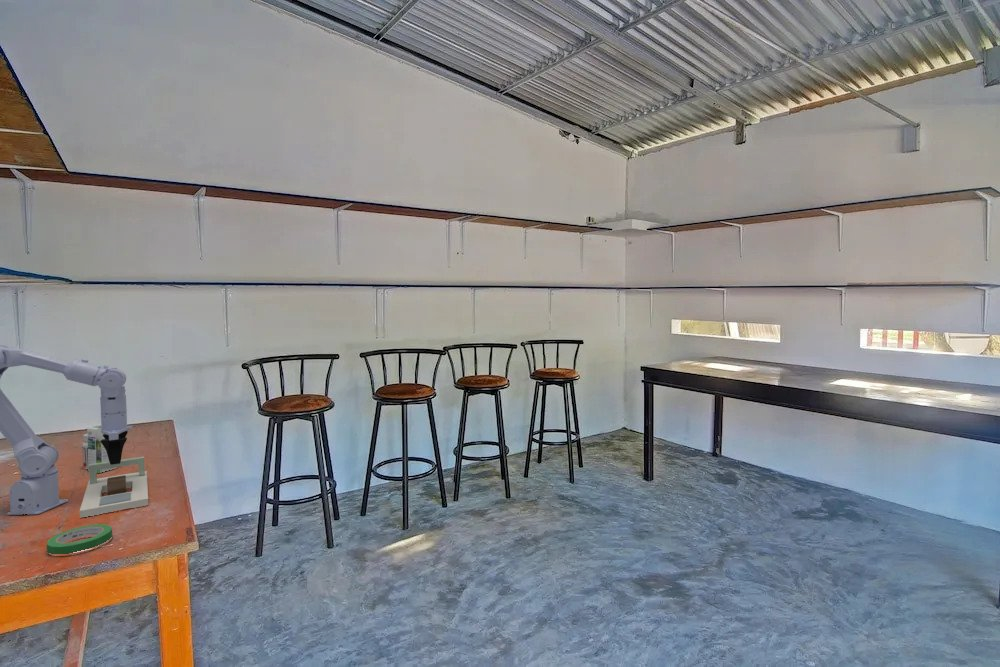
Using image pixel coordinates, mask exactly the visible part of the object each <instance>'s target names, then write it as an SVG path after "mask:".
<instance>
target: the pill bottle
mask: <svg viewBox="0 0 1000 667" xmlns="http://www.w3.org/2000/svg"><path fill="white" fill-rule="evenodd" d="M82 437H83V443H82V449H81V450H82V465H83V469H84V470H87V469H88V439H87V433H85V434H83V436H82Z"/></svg>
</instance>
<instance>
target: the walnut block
mask: <svg viewBox="0 0 1000 667" xmlns="http://www.w3.org/2000/svg"><path fill="white" fill-rule="evenodd" d="M123 475H124V474H123ZM116 476H117V475H116ZM110 477H111V476H110ZM107 490H108V492H107V496H108V495H114V494H120V493H126V492H127V489H126V475H124V476H117V477H111V478H108V480H107Z"/></svg>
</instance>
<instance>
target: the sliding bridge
mask: <svg viewBox="0 0 1000 667" xmlns="http://www.w3.org/2000/svg"><path fill="white" fill-rule="evenodd" d="M136 465H138V472H139V475H145V471H146V470H145V456H137V457H131V458H124V459H121V462H120V464H113V465H111V464H110V462H109V461H108V462H101V463H94V464H89V472H88V473H89V480H90V483H95V482H97V479H98V476H97V474H98V473H97V471H96V470H101V469H108V468H115V467H117V468H121V467H128V466H136Z"/></svg>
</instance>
